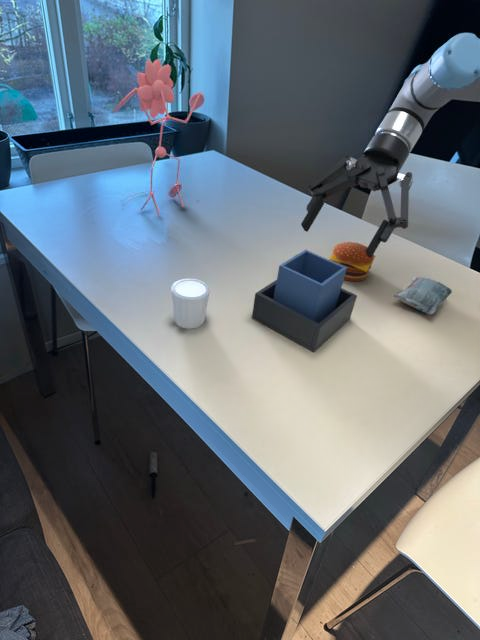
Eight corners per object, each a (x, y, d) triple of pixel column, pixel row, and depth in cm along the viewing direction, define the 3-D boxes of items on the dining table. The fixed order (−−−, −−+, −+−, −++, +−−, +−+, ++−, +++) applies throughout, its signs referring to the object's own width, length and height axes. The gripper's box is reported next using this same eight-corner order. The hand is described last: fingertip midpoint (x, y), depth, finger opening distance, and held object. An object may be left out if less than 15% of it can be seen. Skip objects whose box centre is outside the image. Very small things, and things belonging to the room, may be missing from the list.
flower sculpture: (206, 200, 129) (214, 62, 108) (137, 226, 112) (131, 68, 90) (168, 184, 135) (168, 51, 114) (98, 206, 118) (83, 54, 97)
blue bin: (333, 315, 88) (347, 267, 81) (309, 336, 82) (322, 286, 76) (295, 296, 92) (305, 249, 85) (270, 314, 86) (279, 265, 80)
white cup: (191, 304, 88) (193, 273, 83) (215, 321, 84) (217, 290, 80) (163, 317, 83) (163, 285, 79) (186, 335, 80) (187, 304, 76)
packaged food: (390, 305, 95) (397, 285, 92) (411, 284, 102) (419, 266, 99) (429, 324, 91) (439, 304, 88) (448, 301, 99) (457, 282, 96)
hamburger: (371, 268, 107) (380, 243, 103) (363, 287, 100) (371, 261, 96) (334, 256, 109) (340, 232, 105) (323, 274, 102) (329, 248, 98)
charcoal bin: (349, 319, 89) (357, 295, 86) (313, 352, 80) (320, 327, 76) (291, 290, 95) (296, 266, 92) (251, 317, 86) (255, 293, 83)
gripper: (456, 175, 82) (399, 274, 81) (336, 139, 93) (285, 226, 92) (459, 150, 75) (396, 258, 74) (330, 115, 86) (274, 208, 85)
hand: (335, 241), depth 83 cm, fingers open, 13 cm apart
